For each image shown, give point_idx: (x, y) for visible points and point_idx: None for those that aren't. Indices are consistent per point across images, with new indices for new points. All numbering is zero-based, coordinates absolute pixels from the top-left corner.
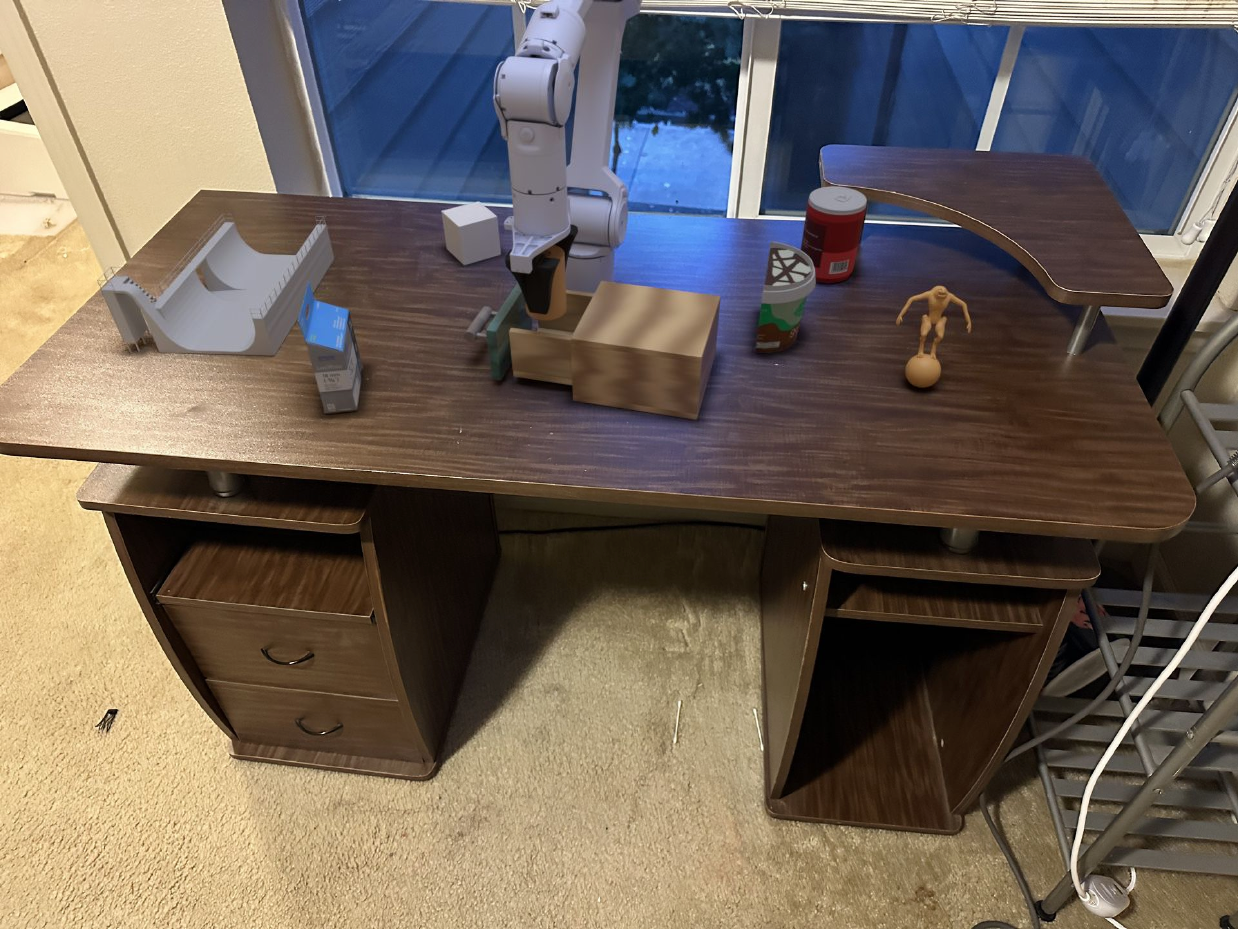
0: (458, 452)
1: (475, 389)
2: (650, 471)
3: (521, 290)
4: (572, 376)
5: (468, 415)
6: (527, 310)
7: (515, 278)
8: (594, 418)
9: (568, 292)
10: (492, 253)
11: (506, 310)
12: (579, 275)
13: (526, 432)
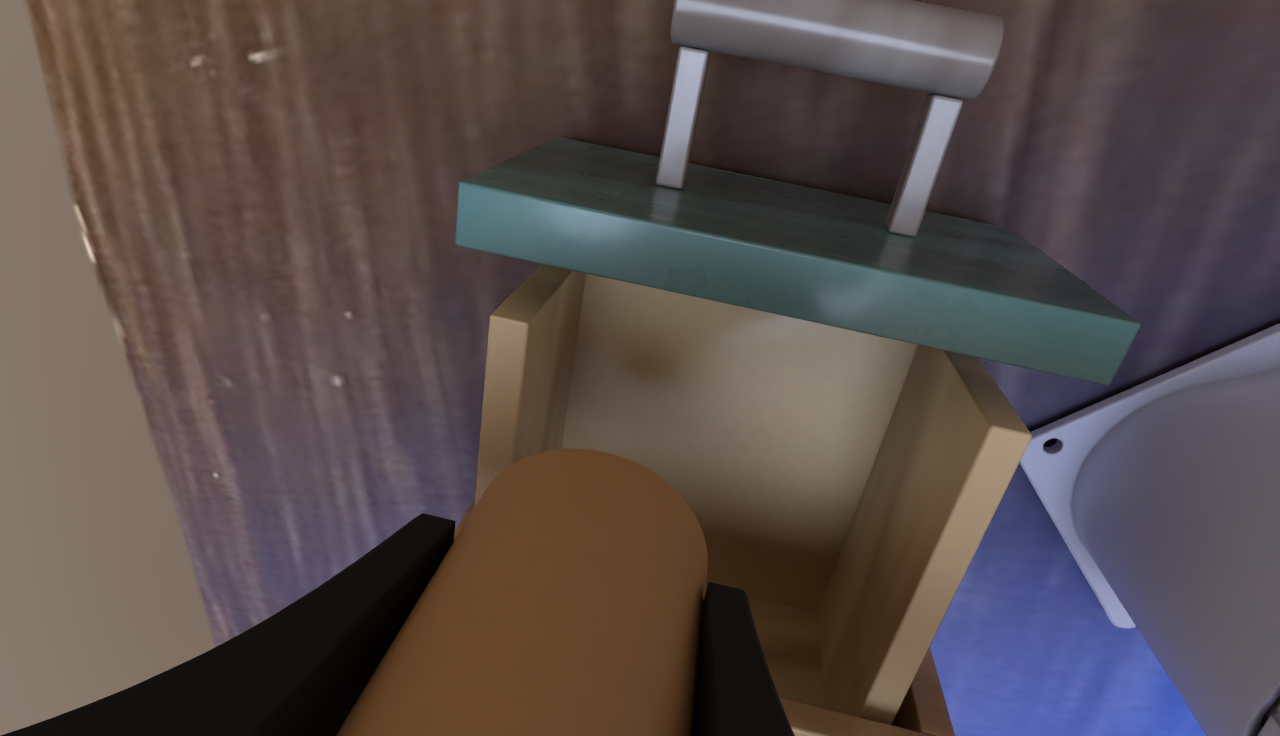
0: (150, 75)
1: (527, 59)
2: (265, 614)
3: (295, 601)
4: (474, 499)
5: (355, 67)
6: (514, 472)
7: (152, 677)
8: (437, 498)
9: (924, 592)
10: None
11: (698, 280)
12: (1196, 615)
13: (320, 303)
